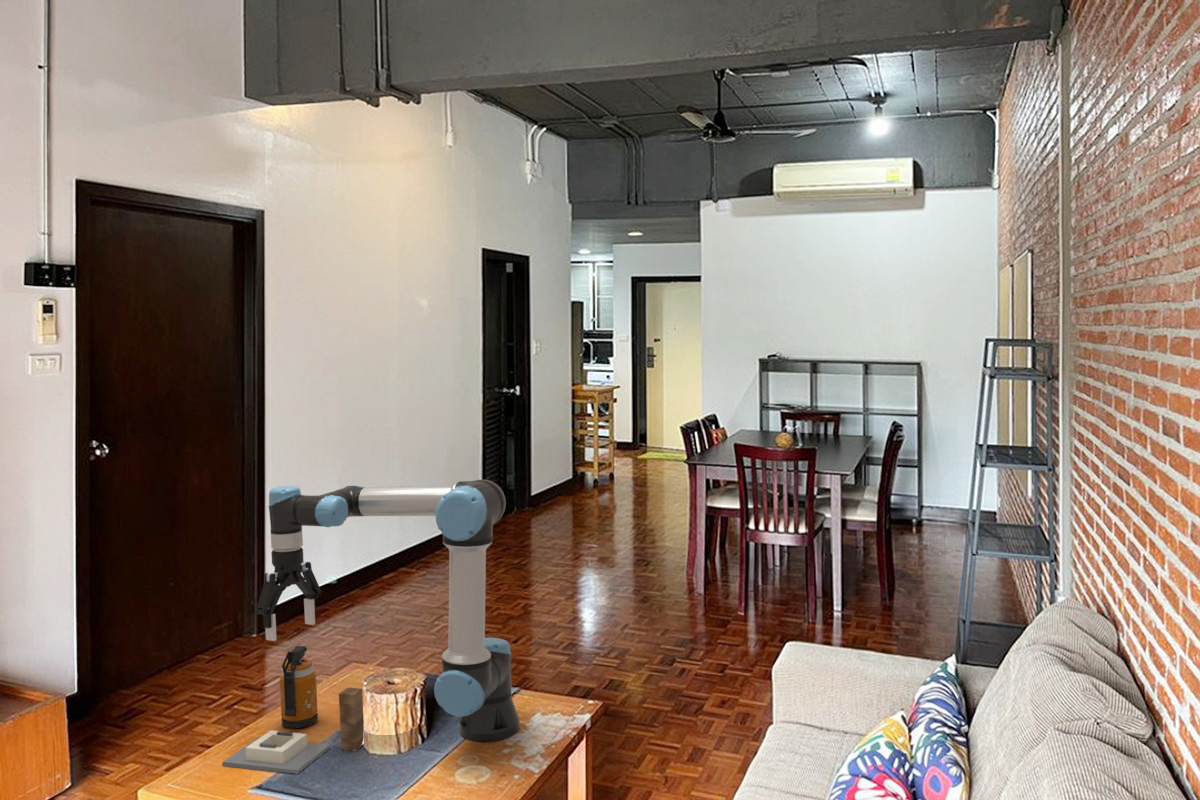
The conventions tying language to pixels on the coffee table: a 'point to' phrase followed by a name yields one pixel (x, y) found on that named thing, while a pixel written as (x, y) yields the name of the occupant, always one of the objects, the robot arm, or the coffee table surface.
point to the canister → (298, 690)
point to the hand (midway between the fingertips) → (291, 632)
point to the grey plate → (277, 753)
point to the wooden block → (351, 718)
